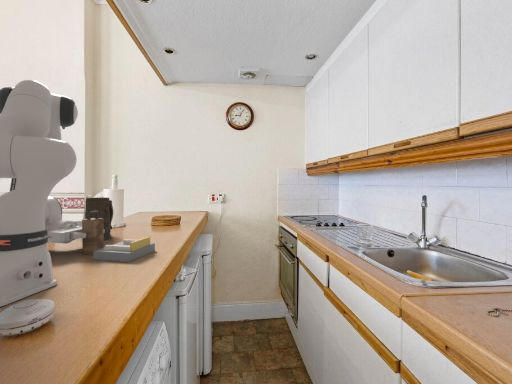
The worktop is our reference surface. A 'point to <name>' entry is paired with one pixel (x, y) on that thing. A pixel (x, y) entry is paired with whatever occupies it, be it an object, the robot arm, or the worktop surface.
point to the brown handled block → (93, 233)
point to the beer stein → (101, 212)
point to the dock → (125, 250)
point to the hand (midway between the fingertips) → (95, 233)
